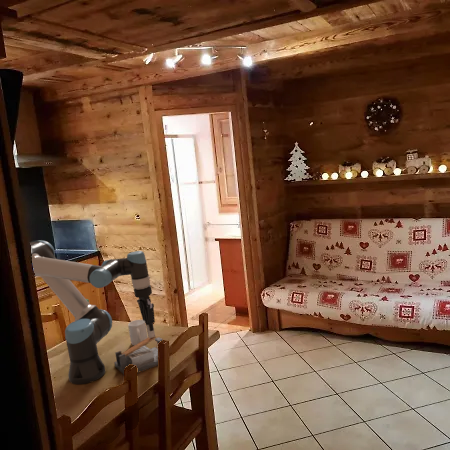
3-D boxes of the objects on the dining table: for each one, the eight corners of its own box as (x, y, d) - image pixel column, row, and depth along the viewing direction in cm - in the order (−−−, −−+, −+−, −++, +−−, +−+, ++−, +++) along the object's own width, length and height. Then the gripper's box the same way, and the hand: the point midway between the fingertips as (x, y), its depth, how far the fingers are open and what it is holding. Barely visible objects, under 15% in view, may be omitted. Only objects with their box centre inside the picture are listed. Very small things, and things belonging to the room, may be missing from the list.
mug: (149, 346, 214) (146, 326, 213) (131, 350, 213) (128, 330, 211) (147, 337, 226) (144, 318, 224) (130, 341, 224) (127, 321, 223)
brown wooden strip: (121, 359, 190) (120, 357, 190) (118, 357, 193) (117, 355, 193) (156, 338, 199) (155, 336, 199) (153, 336, 202) (152, 334, 201)
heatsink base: (126, 377, 186) (123, 359, 185) (114, 366, 198) (111, 349, 197) (170, 360, 197) (167, 342, 196) (156, 350, 209) (154, 334, 208)
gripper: (156, 286, 192) (165, 337, 196) (143, 281, 202) (153, 330, 206) (140, 291, 188) (150, 344, 192) (128, 286, 198) (138, 336, 202)
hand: (151, 336), depth 199 cm, fingers closed
